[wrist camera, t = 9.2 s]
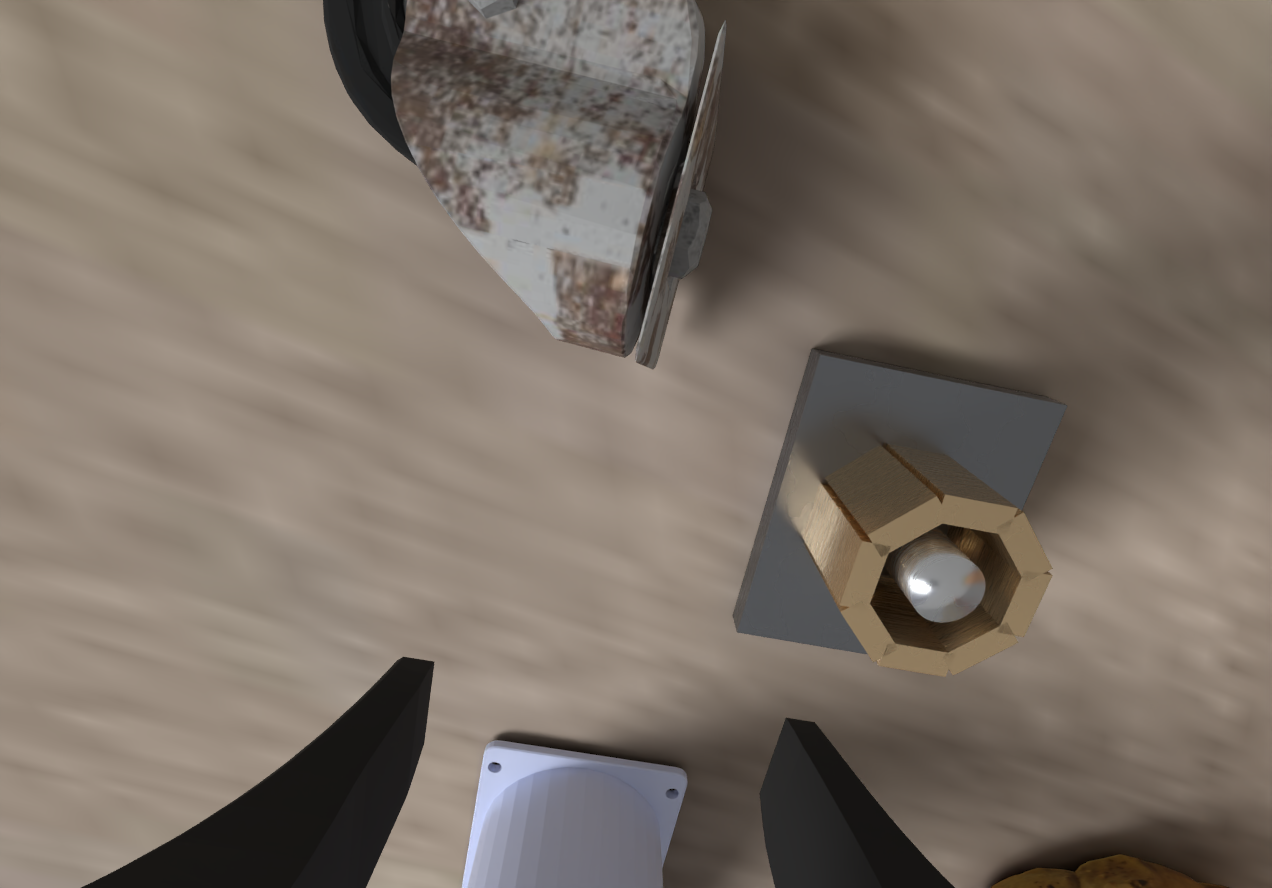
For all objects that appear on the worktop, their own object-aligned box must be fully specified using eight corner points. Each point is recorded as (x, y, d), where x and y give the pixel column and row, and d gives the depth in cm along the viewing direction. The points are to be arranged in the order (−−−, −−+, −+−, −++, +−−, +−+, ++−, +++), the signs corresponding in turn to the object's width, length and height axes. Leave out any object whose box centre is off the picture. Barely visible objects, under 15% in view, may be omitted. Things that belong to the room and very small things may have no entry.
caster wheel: (439, -95, 19) (777, -17, 18) (357, 291, 20) (672, 374, 20) (305, -351, 12) (826, -243, 12) (195, 246, 14) (663, 369, 13)
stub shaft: (940, 651, 25) (1014, 755, 20) (732, 615, 24) (758, 714, 19) (1047, 397, 21) (1167, 449, 17) (811, 348, 21) (866, 387, 16)
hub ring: (939, 607, 23) (1000, 685, 19) (788, 581, 22) (821, 656, 19) (997, 464, 21) (1078, 519, 17) (835, 433, 21) (882, 482, 17)
